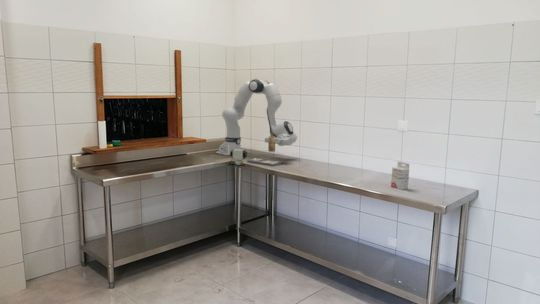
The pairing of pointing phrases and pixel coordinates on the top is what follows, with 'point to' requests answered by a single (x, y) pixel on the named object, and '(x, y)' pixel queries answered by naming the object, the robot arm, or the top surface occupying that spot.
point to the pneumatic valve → (238, 155)
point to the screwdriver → (271, 142)
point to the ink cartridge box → (400, 176)
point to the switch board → (265, 162)
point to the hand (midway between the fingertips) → (271, 141)
